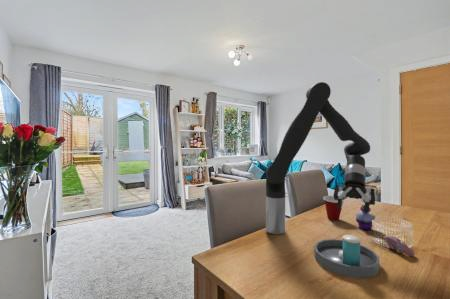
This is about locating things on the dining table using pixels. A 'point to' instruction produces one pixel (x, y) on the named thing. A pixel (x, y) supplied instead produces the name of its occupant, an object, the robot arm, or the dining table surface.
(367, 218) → the potion bottle
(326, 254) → the groove tray
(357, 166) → the robot arm
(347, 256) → the bead jar
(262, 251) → the dining table surface
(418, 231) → the dining table surface
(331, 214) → the plastic cup
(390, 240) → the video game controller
